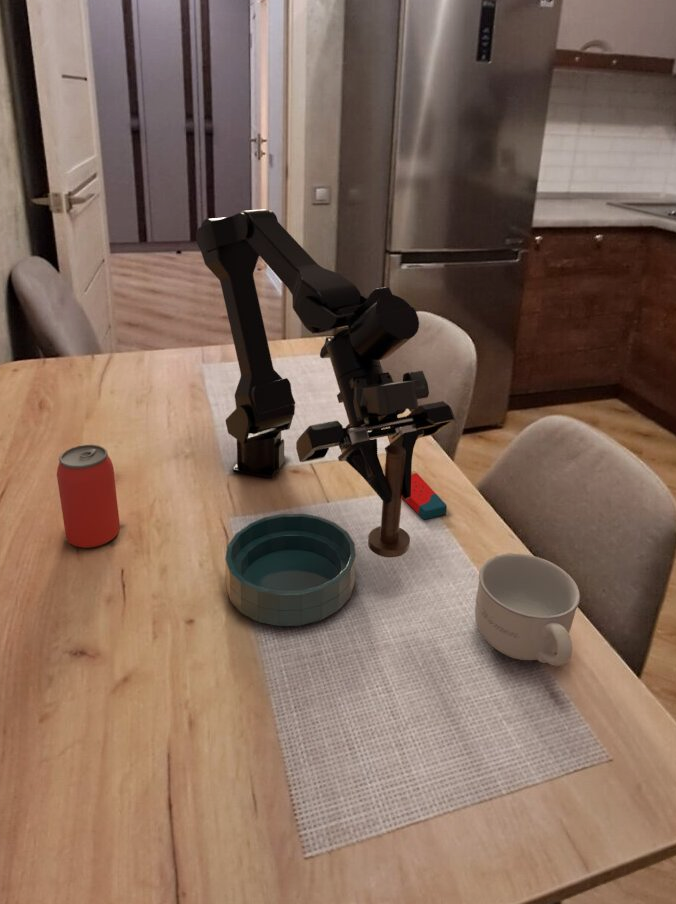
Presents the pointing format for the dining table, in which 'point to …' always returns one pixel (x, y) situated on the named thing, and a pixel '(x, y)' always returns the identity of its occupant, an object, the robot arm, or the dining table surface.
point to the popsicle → (424, 499)
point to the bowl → (290, 569)
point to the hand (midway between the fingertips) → (398, 500)
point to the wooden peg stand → (391, 510)
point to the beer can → (88, 496)
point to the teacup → (526, 607)
